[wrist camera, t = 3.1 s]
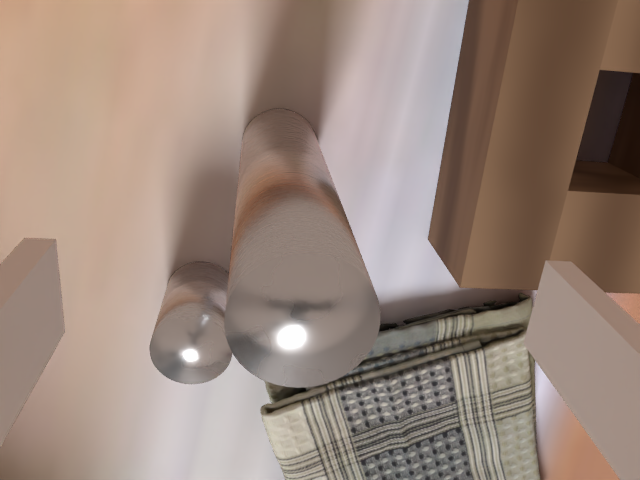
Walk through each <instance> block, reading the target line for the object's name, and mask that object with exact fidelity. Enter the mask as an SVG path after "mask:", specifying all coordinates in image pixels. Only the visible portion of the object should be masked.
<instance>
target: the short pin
mask: <svg viewBox="0 0 640 480" xmlns="http://www.w3.org/2000/svg"><path fill="white" fill-rule="evenodd" d="M228 278H229V273H228V272H227V271H225V270H224V269H223V268H221V267H220V266H218V265H215V264H212V263H208V262H193V263H189V264H186V265H184V266H182V267H180V268H179V269H178V270H177V271H176V272H174V274H173V275H172V276H171V278H170V280H169V282H168V285H167V289H166V292H165V295H164V299H163V302H162V305H161V309H160V312H159V315H158V319H157V322H156V325H155V329H154V332H153V335H152V339H151V342H150V356H151V359H152V362H153V364H154V365H155V367H156V368H157V369H158V370H159V371H160V372H161V373H162V374H163V375H164V376H166V377H167V378H169V379H171V380H173V381H176V382H179V383H184V384H199V383H204V382H208V381H210V380H212V379H214V378H216V377H218V376H219V375H220V374H221V373H222V372H224V370H225V369H226V368H227V366H228V365H229V363H230V361H231V357H232V351H231V349H230V347H229V345H228V342H227V339H226V335H225V327H224V319H225V308H226V298H227V288H228Z"/></svg>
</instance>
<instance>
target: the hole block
mask: <svg viewBox="0 0 640 480" xmlns="http://www.w3.org/2000/svg"><path fill="white" fill-rule="evenodd" d="M600 70H609V71H621V72H633V76H632V79H631V83H630V86H629V90H628V93H627V97H626V100H625V104H624V107H623V111H622V114H621V118H620V121H619V125H618V128H617V132H616V135H615V139H614V142H613V146H612V149H611V153H610V156H609V160H608V162H594V161H578V160H576V158H577V154H578V150H579V147H580V143H581V139H582V135H583V131H584V128H585V124H586V120H587V116H588V112H589V109H590V105H591V101H592V97H593V94H594V90H595V86H596V82H597V78H598V75H599V71H600ZM428 240H429V242H430V243H431V245H432V246H433V248H434V249H435V251H436V252H437V254H438V255H439V257H440V258H441V260H442V261H443V263H444V264H445V266H446V267H447V269H448V270H449V272H450V273H451V275H452V276H453V278H454V279H455V281H456V282H457V284H458V285H459V287H460V288H487V289H517V290H538V287H539V283H540V279H541V276H542V272H543V268H544V265H545V261H546V260H547V261H570V262H572V263H573V264H575V265H576V266H577V267H578V268H579V269H580V270H581V271H582V272H583V273H584V274H585V275H586V276H588V277H589V278H590V279H591V280H592V281H593V282H594V283H595V284H596V285H597V286H598V287H600V288H601V289H602V290H603V291H604V292H608V293H638V294H640V0H469V4H468V10H467V16H466V22H465V28H464V33H463V39H462V45H461V51H460V57H459V62H458V68H457V74H456V80H455V86H454V91H453V97H452V103H451V109H450V115H449V120H448V126H447V132H446V138H445V144H444V149H443V155H442V161H441V167H440V173H439V178H438V184H437V190H436V196H435V202H434V207H433V213H432V219H431V225H430V230H429V236H428Z"/></svg>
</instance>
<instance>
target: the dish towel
mask: <svg viewBox="0 0 640 480" xmlns="http://www.w3.org/2000/svg"><path fill="white" fill-rule="evenodd" d="M519 299H520V302H518V303H517V302H509V303H505V304H501V305H494V303H495V302H496V301H489V302H486V303H484V305H483V306H482V307H472V308H470V307H464V308H460V309H458V310H446V311H442V312H438V313H435V314H429V315H424V316H420V317H415V318H411V319H407V320H405V321H403V322H404V323H405V324H406V325H404V326H400V327H398V325H397V324H396V323H394V324H383V325H380V328H379V332H378V336H377V338H376V341H375V343H374V345H373V347H372V349H371V350H370V352H369V353H368V355H367V356H366V357H365V358H364V360H363V361H362V362H361V363H360V364H359V365H358V366H356V367H355V368H354V369H353V370H352V371H350V372H349V373H347V374H346V375H344V376H342V377H340V378H338V379H336V380H334V381H331V382H329V383H326V384H322V385H318V386H312V387H301V388H296V387H285V386H280V385H276V384H272V383H269V382H267V381H265V380H264V381H265V383H266V389H267V392H268V394H269V397H270V401H271V403H272V404H266V405H264V406H262V408H261V415H262V420H263V422H264V425H265V428H266V431H267V434H268V437H269V441H270V443H271V445H272V447H273V451H274V453H275V456H276V458H277V460H278V462H279V464H280V466H281V469H282V471H283V474H284V477H285V480H540V475H539V467H538V458H537V449H536V407H535V381H534V378H535V375H534V366H535V359H534V358H533V356H532V355H531V354H530V352H529V351H528V349H527V348H526V346H525V345H524V344H523V343H524V339H525V336H526V332H527V328H528V324H529V321H530V317H531V313H532V298H531V297H530V296H526V295H524V294H522V293H520V294H519ZM389 328H391V329H390V330H389Z"/></svg>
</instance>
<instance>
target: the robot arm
mask: <svg viewBox="0 0 640 480" xmlns="http://www.w3.org/2000/svg"><path fill="white" fill-rule="evenodd" d="M64 333H65V326H64V316H63V306H62V295H61V285H60V275H59V265H58V255H57V245H56V239H39V238H24V239H23V240H22V241H21V242H20V243H19V244H18V245H17V246H16V247H15V249H14V250H13V251H12V252H11V253H10V254H9V255H8V256H7V257H6V258H5V259H4V261H3V262H2V263H1V264H0V447H1V445H2V444H3V442H4V440H5V438H6V436H7V435H8V433H9V431H10V429H11V427H12V426H13V424H14V422H15V420H16V419H17V417H18V415H19V413H20V411H21V410H22V408H23V406H24V404H25V402H26V401H27V399H28V397H29V395H30V393H31V392H32V390H33V388H34V386H35V385H36V383H37V381H38V379H39V377H40V376H41V374H42V372H43V370H44V368H45V367H46V365H47V363H48V361H49V359H50V358H51V356H52V354H53V352H54V351H55V349H56V347H57V345H58V343H59V342H60V340H61V338H62V336H63V334H64ZM523 344H524V345H525V346H526V348H527V349H528V351H529V352H530V354H531V355H532V356H533V358H534V359H535V361H536V362H537V363H538V365H539V366H540V368H541V369H542V370H543V372H544V373H545V375H546V376H547V377H548V379H549V380H550V382H551V383H552V384H553V386H554V387H555V389H556V390H557V391H558V393H559V394H560V396H561V397H562V398H563V400H564V401H565V403H566V404H567V406H568V407H569V408H570V410H571V411H572V413H573V414H574V415H575V417H576V418H577V420H578V421H579V422H580V424H581V425H582V427H583V428H584V429H585V431H586V432H587V434H588V435H589V436H590V438H591V439H592V441H593V442H594V443H595V445H596V446H597V448H598V449H599V450H600V452H601V453H602V455H603V456H604V458H605V459H606V460H607V462H608V463H609V465H610V466H611V467H612V469H613V470H614V472H615V473H616V474H617V476H618V477H619V479H620V480H640V324H639V323H638V322H636V321H635V320H634V319H633V318H632V317H631V316H630V315H629V314H628V313H627V312H626V311H624V310H623V309H622V308H621V307H620V306H619V305H618V304H617V303H616V302H615V301H614V300H613V299H611V298H610V297H609V296H608V295H607V294H606V293H605V292H604V291H603V290H602V289H601V288H600V287H598V286H597V285H596V284H595V283H594V282H593V281H592V280H591V279H590V278H589V277H588V276H586V275H585V274H584V273H583V272H582V271H581V270H580V269H579V268H578V267H577V266H576V265H575V264H573V263H572V262H570V261H547V260H546V261H545V265H544V268H543V272H542V276H541V279H540V283H539V287H538V291H537V294H536V298H535V302H534V306H533V309H532V313H531V317H530V321H529V324H528V328H527V332H526V336H525V339H524V343H523Z"/></svg>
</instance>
